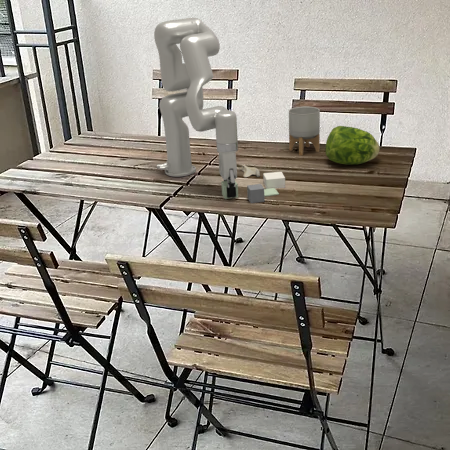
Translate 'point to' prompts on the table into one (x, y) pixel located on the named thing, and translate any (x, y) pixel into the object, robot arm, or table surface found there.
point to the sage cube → (224, 189)
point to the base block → (274, 180)
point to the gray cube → (255, 193)
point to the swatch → (270, 192)
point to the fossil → (249, 171)
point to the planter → (304, 127)
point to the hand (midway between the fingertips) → (230, 193)
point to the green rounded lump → (351, 146)
